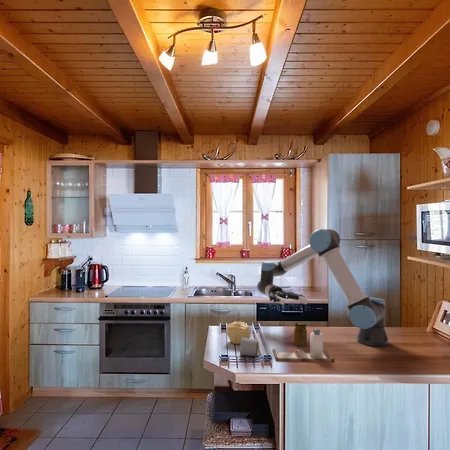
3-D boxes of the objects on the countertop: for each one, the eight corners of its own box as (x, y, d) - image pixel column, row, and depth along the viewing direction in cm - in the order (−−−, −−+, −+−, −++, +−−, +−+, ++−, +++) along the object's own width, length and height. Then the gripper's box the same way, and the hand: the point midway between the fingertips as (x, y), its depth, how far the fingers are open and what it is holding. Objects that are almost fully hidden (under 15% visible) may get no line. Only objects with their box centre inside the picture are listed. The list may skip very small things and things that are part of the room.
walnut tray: (326, 355, 165) (326, 349, 165) (334, 364, 153) (334, 359, 153) (272, 354, 166) (272, 348, 166) (275, 363, 154) (276, 358, 154)
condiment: (303, 345, 179) (304, 321, 180) (311, 350, 171) (311, 325, 171) (290, 346, 178) (290, 321, 178) (297, 351, 170) (297, 326, 170)
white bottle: (320, 354, 163) (321, 327, 163) (324, 358, 157) (324, 331, 157) (308, 353, 163) (309, 327, 163) (311, 358, 157) (311, 331, 157)
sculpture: (224, 344, 178) (224, 322, 178) (232, 337, 189) (233, 317, 189) (245, 347, 174) (246, 325, 174) (253, 340, 185) (253, 320, 185)
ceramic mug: (257, 358, 159) (257, 341, 160) (239, 357, 161) (239, 340, 161) (259, 351, 170) (259, 335, 170) (242, 349, 171) (242, 333, 171)
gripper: (292, 298, 206) (314, 308, 187) (254, 298, 197) (273, 309, 177) (293, 285, 206) (316, 294, 186) (255, 285, 197) (274, 294, 177)
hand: (295, 301), depth 182 cm, fingers open, 13 cm apart
